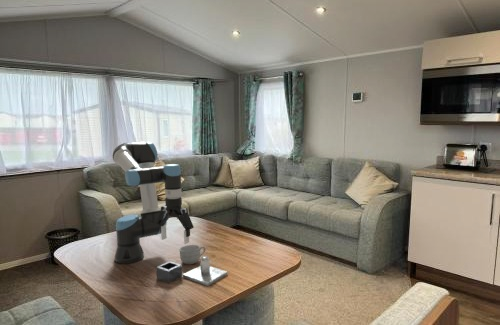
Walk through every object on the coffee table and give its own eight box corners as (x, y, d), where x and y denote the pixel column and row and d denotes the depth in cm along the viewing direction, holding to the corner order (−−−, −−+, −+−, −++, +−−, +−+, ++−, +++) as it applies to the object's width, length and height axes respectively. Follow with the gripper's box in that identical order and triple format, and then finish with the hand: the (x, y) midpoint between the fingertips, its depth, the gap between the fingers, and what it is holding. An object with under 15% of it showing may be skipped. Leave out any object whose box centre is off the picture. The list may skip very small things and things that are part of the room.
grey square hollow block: (156, 279, 160) (156, 267, 159) (170, 272, 167) (169, 260, 166) (168, 283, 155) (168, 271, 154) (182, 276, 162) (181, 264, 161)
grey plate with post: (183, 277, 161) (182, 258, 160) (203, 266, 173) (202, 249, 172) (207, 286, 152) (207, 266, 151) (227, 274, 163) (226, 255, 162)
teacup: (180, 267, 172) (180, 252, 171) (179, 259, 183) (178, 245, 182) (207, 264, 176) (207, 249, 175) (204, 256, 186) (204, 242, 185)
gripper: (147, 196, 160) (149, 239, 162) (190, 201, 149) (192, 247, 151) (158, 193, 166) (160, 234, 169) (200, 198, 155) (201, 242, 158)
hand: (175, 240), depth 160 cm, fingers open, 13 cm apart
